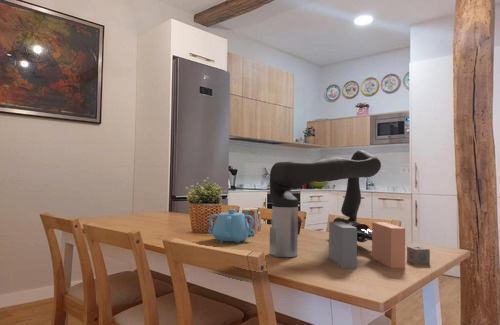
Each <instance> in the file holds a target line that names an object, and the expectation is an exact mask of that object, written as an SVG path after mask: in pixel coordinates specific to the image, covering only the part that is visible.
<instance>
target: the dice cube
mask: <svg viewBox="0 0 500 325" xmlns="http://www.w3.org/2000/svg"><path fill="white" fill-rule="evenodd" d="M430 251H431V249H430V248H427V247H423V246H421V245H419V246H416V245H415V246H407V247H406V261H407V262H408V263H410V264H413V265H417V266H418V265H420V266H421V265H425V266H426V265H431V263H430V262H431V261H430V260H431V258H430V257H431V254H430V253H431V252H430Z"/></svg>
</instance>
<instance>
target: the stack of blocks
mask: <svg viewBox="0 0 500 325" xmlns="http://www.w3.org/2000/svg"><path fill="white" fill-rule="evenodd" d="M241 213H243V214H244V215H250V216H251V217H252V218H253V220H254V222H253V226H252V228H251V229H253V230H254V235H251V236H250V235H248V237H255V236H256V235H257V234H258V233H259V232H260V231H261V229H262V227H261V226H262V215H261V214H262V212H261V211H259V207H253V206H252V207H245V208H243V209H242V210H241ZM246 220H247V222H248V226H249V227H250V224H251V219H250V218H249V217H246ZM250 233H252V231H250Z"/></svg>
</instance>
